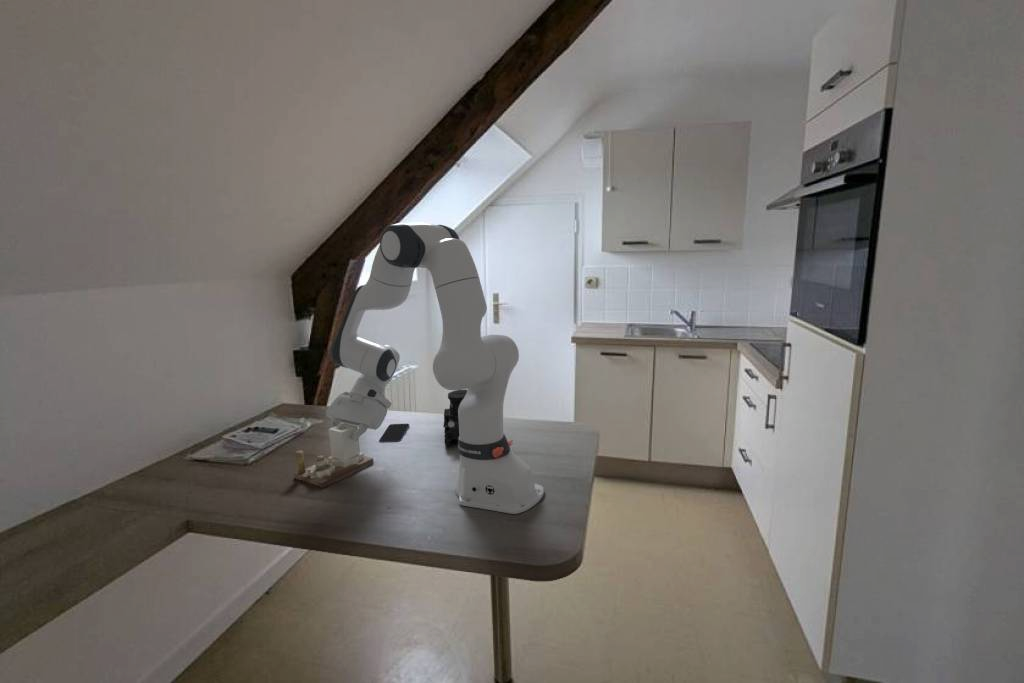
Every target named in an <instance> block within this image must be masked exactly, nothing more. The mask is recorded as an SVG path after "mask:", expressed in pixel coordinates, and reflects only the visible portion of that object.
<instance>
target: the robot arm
mask: <svg viewBox="0 0 1024 683" xmlns="http://www.w3.org/2000/svg"><path fill="white" fill-rule="evenodd" d="M417 268H422V269H423V268H424V269H425V268H426V269H427V270H428V271H429V273H430V274H431V278H432V283H433V286H434V290H435V294H436V298H437V301H438V306H439V310H440V315H441V319H442V320H441V321H442V335H441V336H442V337H441V342H440V347H439V349H438V351H437V353H436V354H435V357H434V358H433V362H432V372H433V375H434V378H435V380H436V382H437V383H438V385H440V386H441V387H442V388H443V389H445V390H448V391H456V390H467V393H466V395H465V397H464V399H463V400H462V402H461V403H460V405H459V409H458V418H459V437H458V439H457V450H458V453H459V470H458V472H459V474H458V478H457V485H456V488H455V492H456V495H457V496H458V504H459V505H460V506H465V507H469V508H470V507H471V508H477V509H483V510H489V511H493V512H494V511H495V512H500V513H506V514H512V515H517V514H520V513H523V512H526V511H528V510H530V509H532V508H533V507H534V506H535V505H536V504H537V503H539V501H541V499H542V498H543V497H544V494H545V489H544V487H543V486H542V485H540V484H538V483H535V478H534V472H533V471H532V468H531V467H530V466H529V465H527V464H526V463H525V462H524V461H523V460H522V459H520V458H519V457H518V456H517V455H516V454H515V453H514V452H513V451H512V450H511V446H512V445H514V440H513V439H510V441H508V439H507V437H506V434H505V433H504V404H505V396H506V392H507V388H508V384H509V380H510V377H511V376H512V372H513V370H514V369H515V367H516V366H517V364H518V362H519V358H520V357H519V356H520V354H519V348H518V345H517V344H516V342H515V341H514V340H513V339H512V338H511V337H510V336H507V335H502V334H487V335H483V336H482V335H481V334H482V332H481V326H482V322H483V319H484V317H485V315H486V313H487V310H488V307H487V302H486V298H485V295H484V290H483V287H482V283H481V280H480V277H479V276H480V275H479V273H478V269H477V266H476V264H475V261H474V259H473V256H472V253H471V252H470V250H469V248H468V246H467V244H466V243H465V242H464V241H463V240H461V239H460V238H459V235H458V233H457V232H456V230H454V229H453V228H452V227H449V226H447V225H443V224H433V223H432V224H431V223H424V222H410V223H409V222H408V223H405V222H398V223H395V224H394V223H393V224H391V225H388V226H386V228H384V230H382V233H381V235H380V240H379V245H378V248H377V250H376V252H375V255H374V258H373V261H372V265H371V269H370V274H369V277H368V280H367V281H366V283H365V284H362V285H359V286H358V287H357V288H356V289H355V291H354V292H353V293H352V295H351V298H350V300H349V302H348V304H347V308H346V310H345V313H344V315H343V318H342V321H341V323H340V326H339V328H338V330H337V333H336V334H335V337H334V339H333V340H332V342H331V345H330V347H329V352H328V353H329V357H330V359H331V360H332V361H331V362H333V364H334V365H336V366H339V367H341V368H345V369H350V370H351V371H354V372H357V373H359V374H361V375H360V376H359V377H358V378H357V380H356V381H355V383H354V385H353V386H352V388H351V390H350V391H344V392H343V393H340V394H339V395H338V396H336V398H334V400H333V401H332V402H331V404H330V405H329V407H328V408H327V410H326V412H325V414H326V417H327V418H329V419H330V428H333V427H336V426H338V425H341V423H342V424H344V423H346V424H351V425H355V426H358V430H357V431H356V432H355V433H352V435H351V436H350V439H352V440H354V441H357V440H358V439H359V440H360V437H361V436H362V435H364V433H366V432H367V430H368V429H371V430H375V431H376V430H378V429H379V428H380V427H381V426H382V424H383V422H384V420H385V418H386V417H387V414H388V409H390V407H392V402H391V401H390V400H389V399H388V398H387V397H386V396H385V395H384V393H385V391H386V387H387V385H388V384H390V382H391V381H392V378H393V377H394V375H395V373H396V370H397V368H398V366H399V362H400V359H401V355H400V353H399V352H398V351H397V349H396V348H394V347H393V346H390V345H388V344H379V343H376V342H373V341H371V340H368V339H366V338H363V337H360V336H359V334H358V329H359V326H360V325H361V321H362V318H363V316H364V315H365V314H364V313H365V312H366V311H371V310H373V311H375V310H376V311H379V310H380V311H385V310H390V309H394V308H398V307H399V306H401V305H402V304H404V302H406V301H407V299H408V296H409V294H410V291H411V287H412V282H413V278H414V272H415V270H416V269H417ZM327 434H329V430H328V433H327Z"/></svg>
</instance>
